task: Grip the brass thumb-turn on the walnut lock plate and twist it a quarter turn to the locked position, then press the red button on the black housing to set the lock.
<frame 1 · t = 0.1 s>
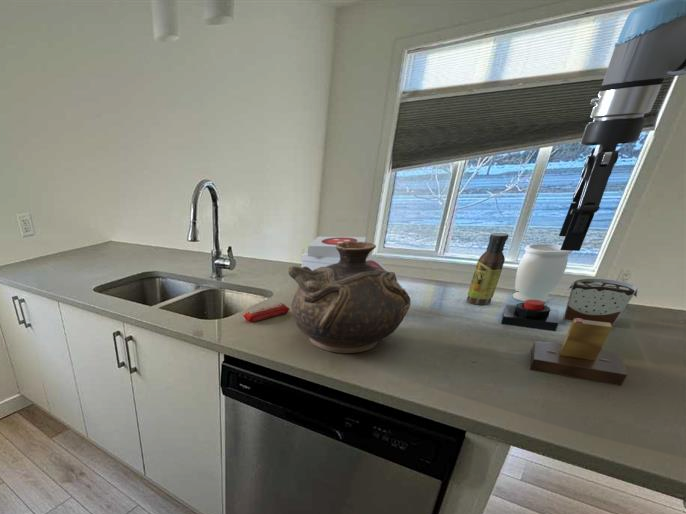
hand: (568, 243, 82), 24 cm above the worktop, tool pointing down, fingers open, 13 cm apart
lock plate: (572, 366, 87), on the worktop
pizza boxes: (346, 300, 133), on the worktop
jar: (529, 299, 121), on the worktop
vessel: (341, 340, 107), on the worktop
sauce bottle: (477, 303, 122), on the worktop
food container: (586, 320, 106), on the worktop
candy bar: (266, 317, 126), on the worktop
set button box: (527, 321, 108), on the worktop
set button: (533, 305, 105), point 4 cm above the worktop, slide at 0.1 cm
thumb turn: (584, 339, 83), point 6 cm above the worktop, hinge at 0.0°
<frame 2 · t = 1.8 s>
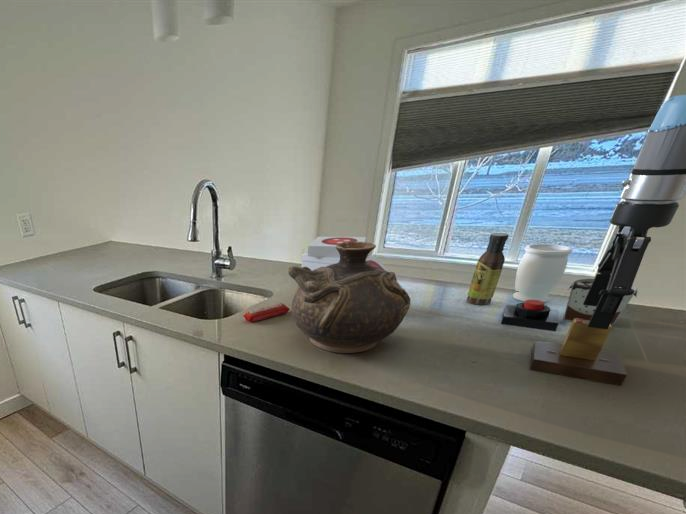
hand: (594, 316, 81), 11 cm above the worktop, tool pointing down, fingers open, 13 cm apart
nothing on the worktop moved.
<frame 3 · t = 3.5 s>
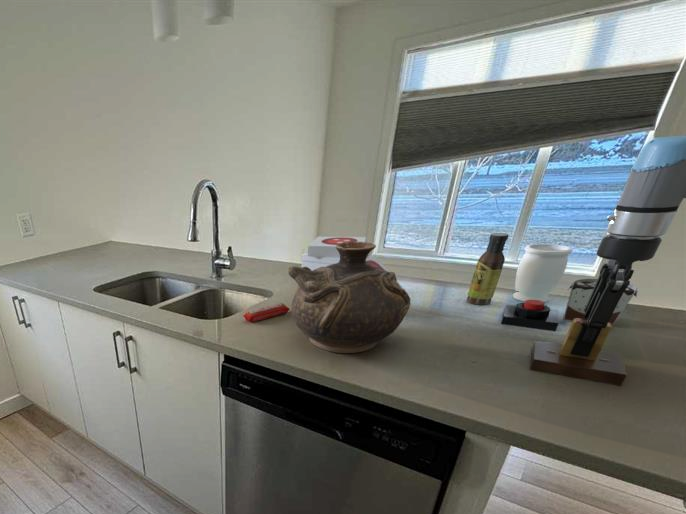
hand: (578, 351, 85), 4 cm above the worktop, tool pointing down, fingers closed on thumb turn, 2 cm apart
thumb turn: (584, 339, 83), point 6 cm above the worktop, hinge at -0.1°, touching gripper
everything else where it was.
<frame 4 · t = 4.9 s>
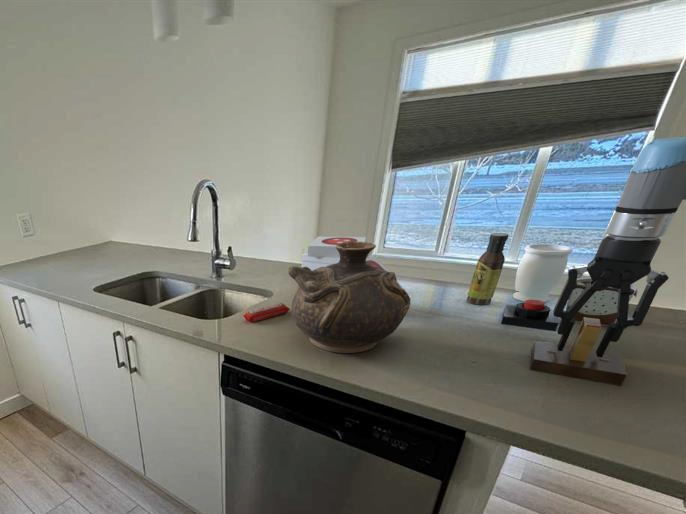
hand: (579, 351, 85), 4 cm above the worktop, tool pointing down, fingers open, 5 cm apart
thumb turn: (584, 339, 83), point 6 cm above the worktop, hinge at 89.6°
everything else where it was.
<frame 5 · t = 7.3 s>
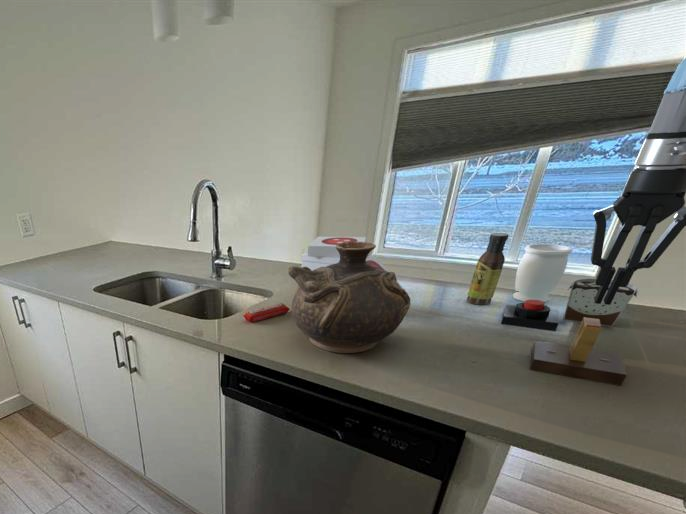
hand: (602, 301, 79), 14 cm above the worktop, tool pointing down, fingers closed
nothing on the worktop moved.
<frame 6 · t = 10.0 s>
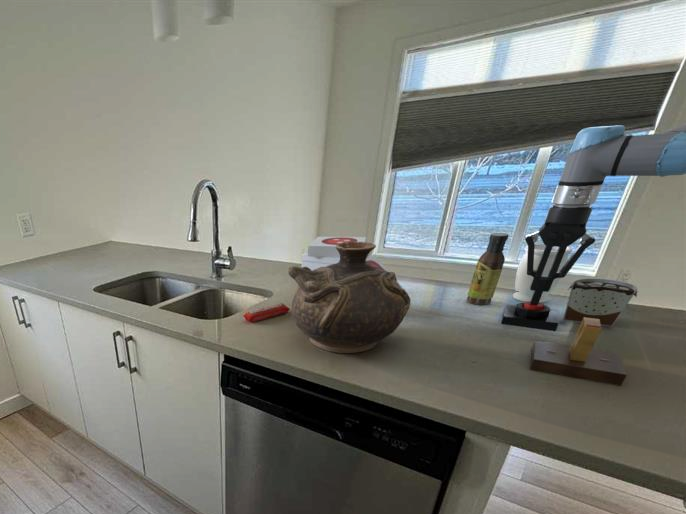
hand: (534, 302, 105), 5 cm above the worktop, tool pointing down, fingers closed
set button: (533, 307, 106), point 4 cm above the worktop, slide at -0.4 cm, touching gripper
everything else where it was.
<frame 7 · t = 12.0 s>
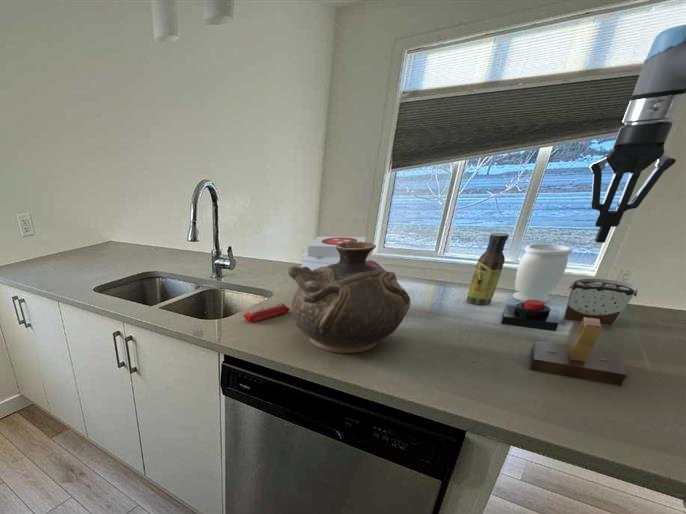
hand: (599, 241, 94), 21 cm above the worktop, tool pointing down, fingers closed
set button: (533, 305, 105), point 4 cm above the worktop, slide at 0.1 cm
everything else where it was.
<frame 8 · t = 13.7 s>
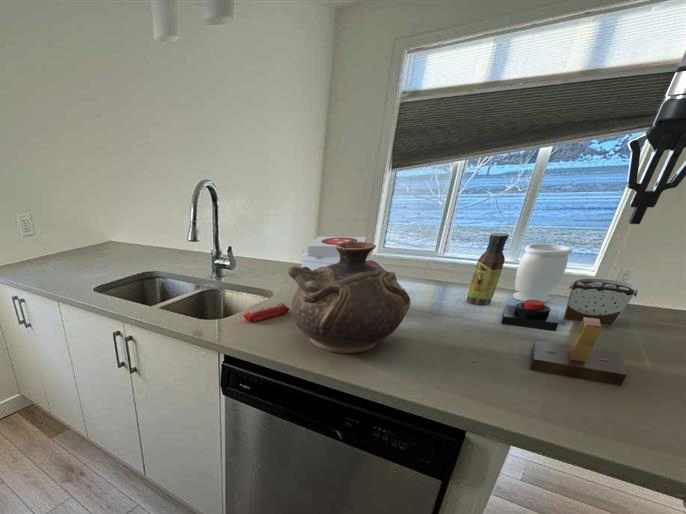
hand: (634, 222, 91), 24 cm above the worktop, tool pointing down, fingers closed
nothing on the worktop moved.
at the end: thumb turn at +90° (first picture: +0°); set button pushed in 1.0 cm at the most during the clip, back to where it started at the end; set button slide at 0.1 cm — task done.
